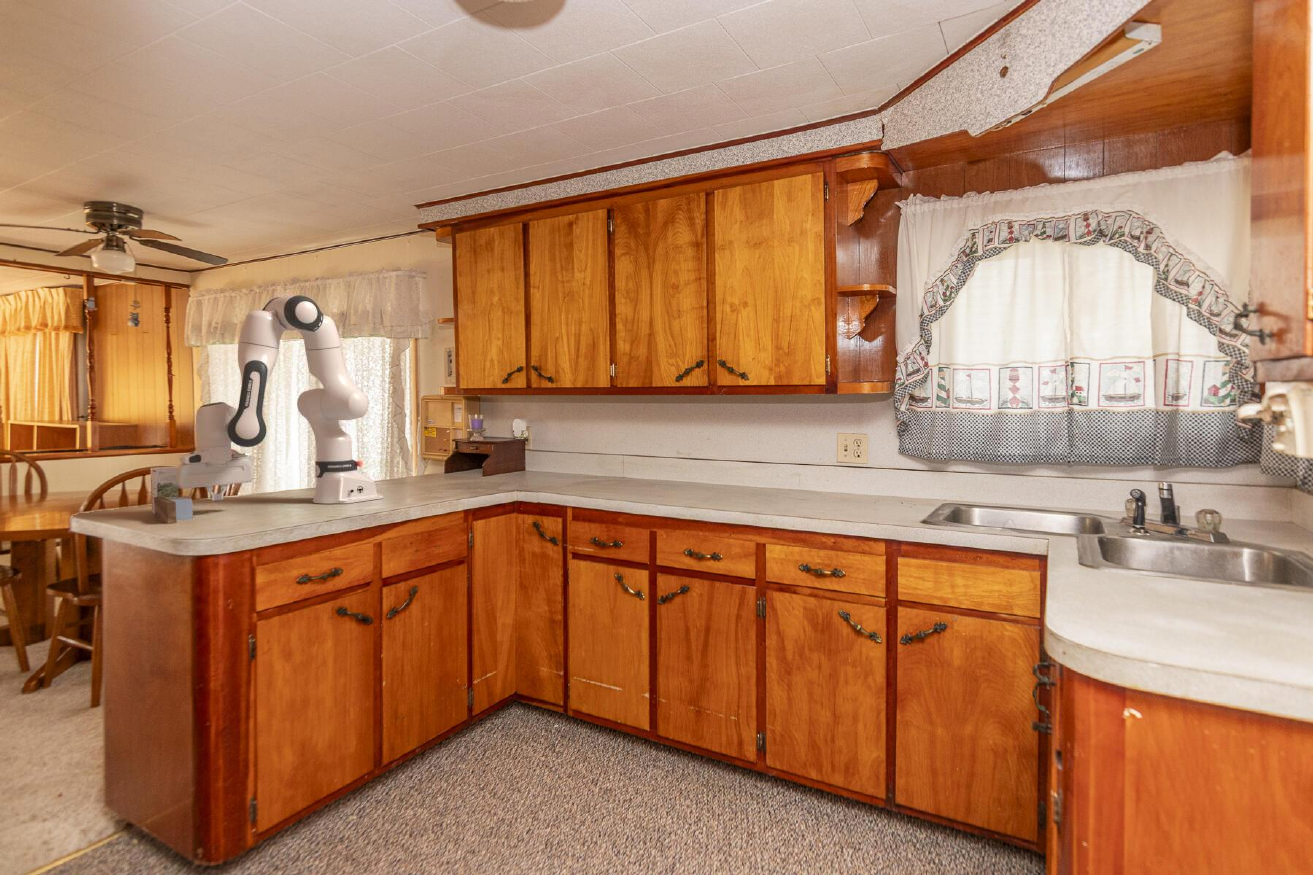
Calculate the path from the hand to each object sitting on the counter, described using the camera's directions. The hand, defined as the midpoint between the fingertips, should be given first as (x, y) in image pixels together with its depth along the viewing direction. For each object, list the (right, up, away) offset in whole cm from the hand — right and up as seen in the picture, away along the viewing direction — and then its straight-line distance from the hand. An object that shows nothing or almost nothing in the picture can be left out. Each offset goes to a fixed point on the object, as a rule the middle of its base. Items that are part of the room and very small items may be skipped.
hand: (217, 499), depth 211 cm
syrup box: (-17, -5, +2) cm, 18 cm away
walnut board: (-9, -5, -10) cm, 14 cm away
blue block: (-6, -5, -8) cm, 11 cm away
